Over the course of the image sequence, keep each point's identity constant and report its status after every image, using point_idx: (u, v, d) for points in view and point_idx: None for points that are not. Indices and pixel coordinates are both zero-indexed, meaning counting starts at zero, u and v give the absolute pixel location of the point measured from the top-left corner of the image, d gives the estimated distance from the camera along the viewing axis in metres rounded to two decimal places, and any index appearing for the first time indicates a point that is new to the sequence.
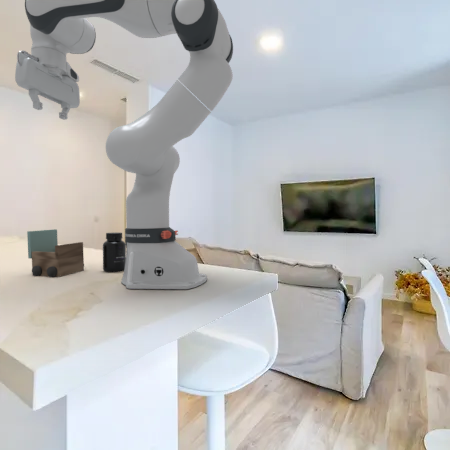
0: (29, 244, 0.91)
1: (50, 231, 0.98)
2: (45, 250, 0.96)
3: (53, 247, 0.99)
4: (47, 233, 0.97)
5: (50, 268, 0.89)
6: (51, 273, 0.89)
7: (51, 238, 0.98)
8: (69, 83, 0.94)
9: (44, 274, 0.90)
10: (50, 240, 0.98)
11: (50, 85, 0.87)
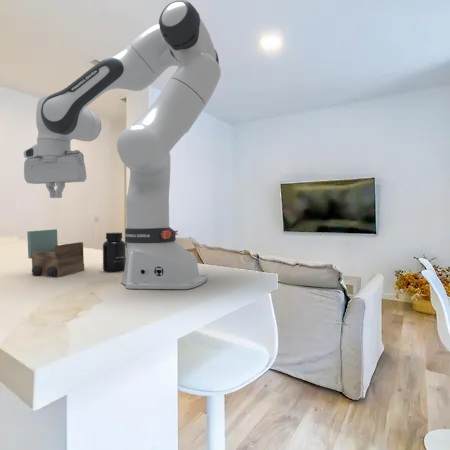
0: (29, 244, 0.91)
1: (50, 231, 0.98)
2: (45, 250, 0.96)
3: (53, 247, 0.99)
4: (47, 233, 0.97)
5: (50, 268, 0.89)
6: (51, 273, 0.89)
7: (51, 238, 0.98)
8: None
9: (44, 274, 0.90)
10: (50, 240, 0.98)
11: None
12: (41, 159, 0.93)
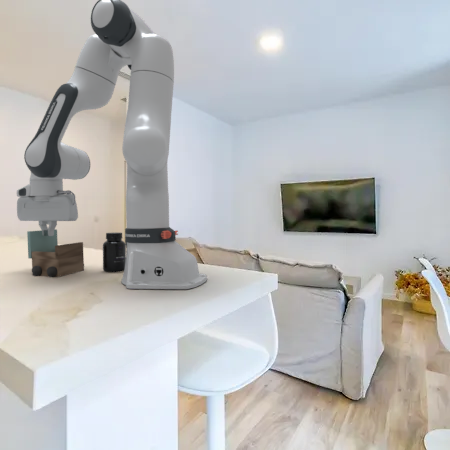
0: (29, 244, 0.91)
1: None
2: (45, 250, 0.96)
3: (53, 247, 0.99)
4: None
5: (50, 268, 0.89)
6: (51, 273, 0.89)
7: (51, 238, 0.98)
8: None
9: (44, 274, 0.90)
10: (50, 240, 0.98)
11: None
12: (34, 198, 0.94)
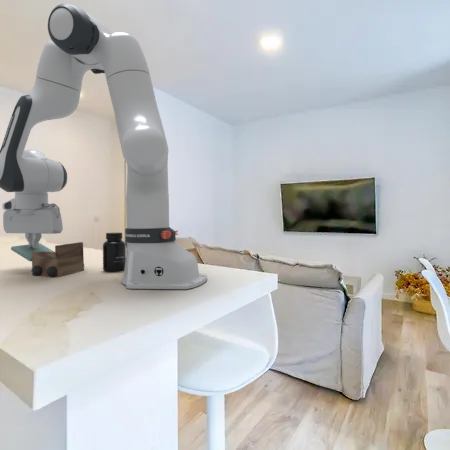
0: (20, 253, 0.93)
1: None
2: None
3: (48, 251, 1.00)
4: None
5: (50, 268, 0.89)
6: (51, 273, 0.89)
7: (39, 247, 1.00)
8: None
9: (44, 274, 0.90)
10: (40, 248, 0.99)
11: None
12: (19, 211, 0.96)
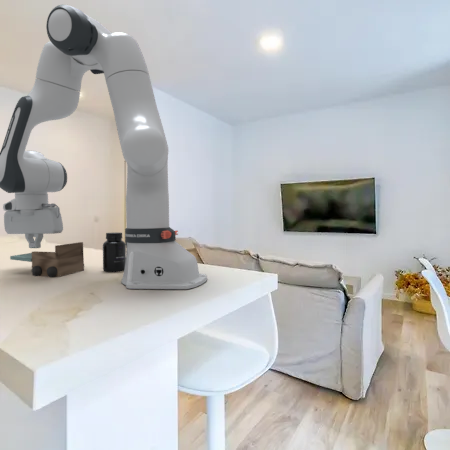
0: (20, 258, 0.93)
1: None
2: None
3: None
4: (30, 253, 0.99)
5: (50, 268, 0.89)
6: (51, 273, 0.89)
7: None
8: None
9: (44, 274, 0.90)
10: None
11: None
12: (19, 212, 0.96)
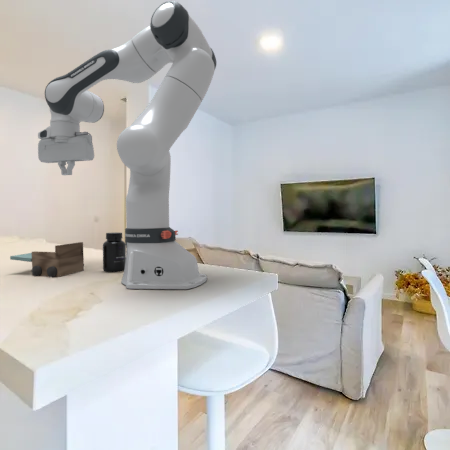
0: (20, 258, 0.93)
1: None
2: None
3: None
4: (30, 253, 0.99)
5: (50, 268, 0.89)
6: (51, 273, 0.89)
7: None
8: None
9: (44, 274, 0.90)
10: None
11: None
12: (54, 140, 1.03)
